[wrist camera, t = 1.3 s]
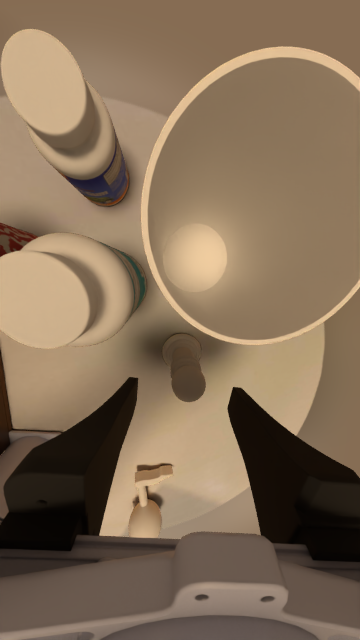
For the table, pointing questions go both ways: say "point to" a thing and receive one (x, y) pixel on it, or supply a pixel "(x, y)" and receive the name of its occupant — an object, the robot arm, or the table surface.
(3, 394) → the tray
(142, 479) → the figurine
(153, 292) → the table surface
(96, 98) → the pill bottle
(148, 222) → the cup
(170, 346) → the chess piece
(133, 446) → the table surface
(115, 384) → the table surface
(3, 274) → the pill bottle
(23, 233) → the mug
